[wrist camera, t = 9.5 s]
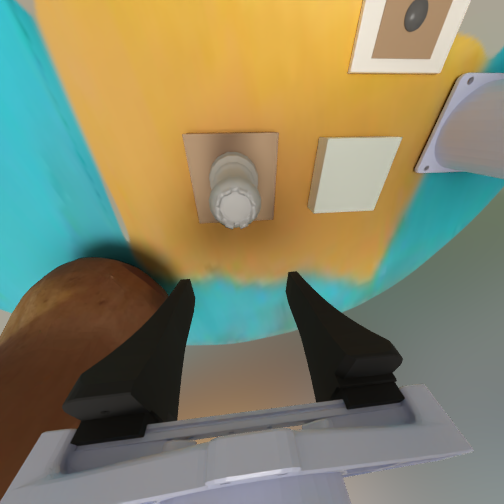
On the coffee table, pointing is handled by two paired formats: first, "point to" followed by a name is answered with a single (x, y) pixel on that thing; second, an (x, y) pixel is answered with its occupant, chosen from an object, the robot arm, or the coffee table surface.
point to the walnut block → (216, 144)
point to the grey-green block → (350, 172)
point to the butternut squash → (63, 346)
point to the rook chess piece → (234, 190)
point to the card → (405, 35)
